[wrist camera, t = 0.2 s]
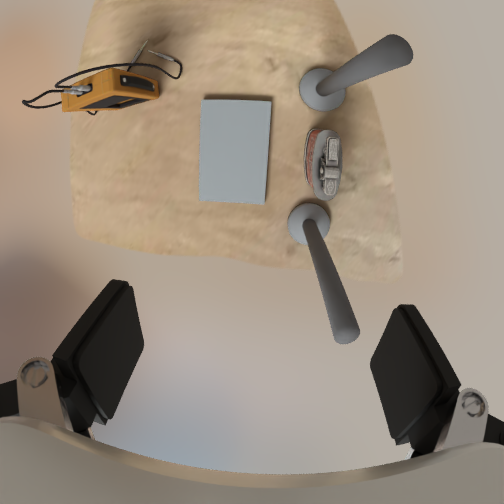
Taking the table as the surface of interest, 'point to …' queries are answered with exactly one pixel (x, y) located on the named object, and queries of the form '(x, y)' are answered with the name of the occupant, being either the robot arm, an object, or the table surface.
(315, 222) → the far cord post
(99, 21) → the table surface
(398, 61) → the post
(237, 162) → the mat
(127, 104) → the multimeter
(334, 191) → the lighter
